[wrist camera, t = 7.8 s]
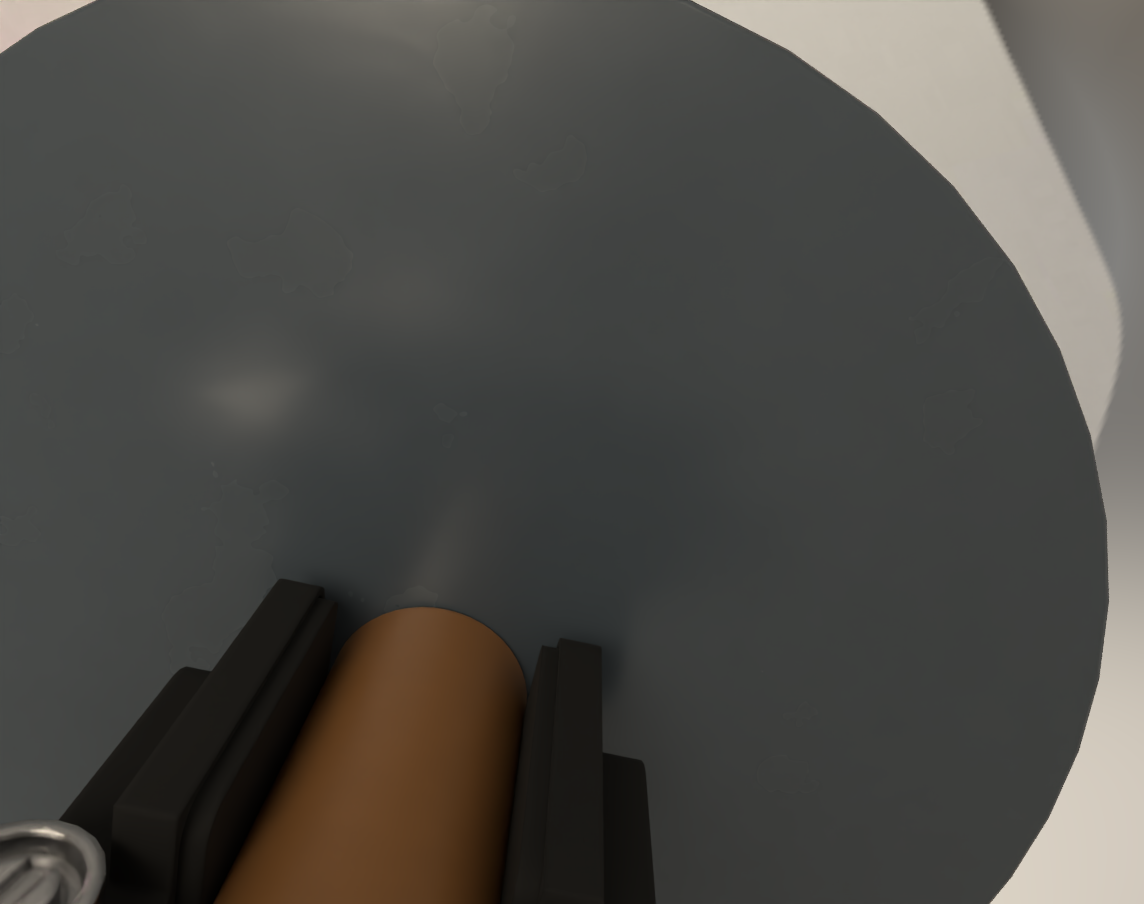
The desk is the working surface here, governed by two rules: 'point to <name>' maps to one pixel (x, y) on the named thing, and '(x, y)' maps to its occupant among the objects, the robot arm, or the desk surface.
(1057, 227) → the desk surface
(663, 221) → the lid
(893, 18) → the desk surface
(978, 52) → the desk surface
